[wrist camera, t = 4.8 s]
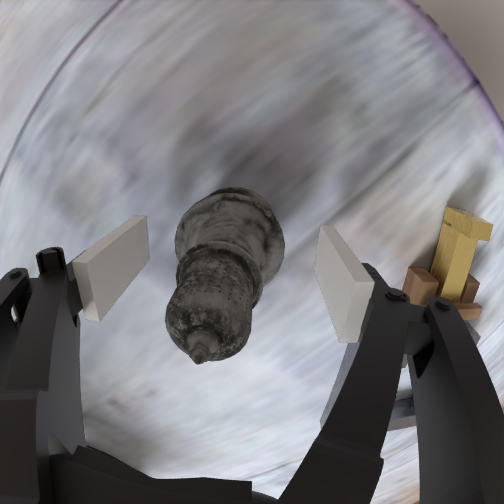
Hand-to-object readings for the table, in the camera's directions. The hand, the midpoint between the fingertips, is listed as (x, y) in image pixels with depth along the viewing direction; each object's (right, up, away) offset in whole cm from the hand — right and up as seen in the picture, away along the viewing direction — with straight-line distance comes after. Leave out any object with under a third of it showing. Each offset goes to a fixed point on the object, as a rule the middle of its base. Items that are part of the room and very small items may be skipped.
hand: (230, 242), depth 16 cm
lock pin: (+16, -1, +3) cm, 16 cm away
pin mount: (+16, -3, +4) cm, 17 cm away
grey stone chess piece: (0, +1, +3) cm, 3 cm away
